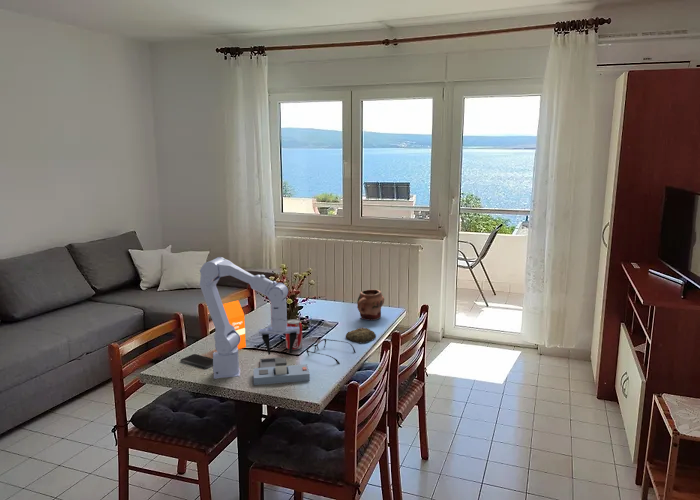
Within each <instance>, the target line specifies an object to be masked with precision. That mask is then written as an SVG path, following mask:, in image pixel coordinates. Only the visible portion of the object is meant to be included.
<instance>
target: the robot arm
mask: <svg viewBox="0 0 700 500" xmlns="http://www.w3.org/2000/svg"><path fill="white" fill-rule="evenodd" d="M199 273H200V279H199V287H200V289H201V292H202V295H203V299H204V301H205V304H206V306H207V309H208V312H209V314H210V318H211V320H212V323H213V326H214V329H215V330H214V331H215V332H214V336H213V339H214V349H215V351H214V352H213V353H212V359H213V367H212V372H213V379H214V380H217V379H222V378H237V377H240V376H241V367H240V361H239V349H238V344H239V343H240V340H241V339H240V335H239V334H238V333H237V332H236V330H235V328H234V326H232V325H230V323H229V320H228V318H227V315H226V312H225V309H224V306H223V304H224V303H223V301H222V299H221V296H220V293H219V289H218V287H217V284H218V283H219V281H220V278H223V277H227V276H229V277H230V276H231V277H233V278H235V279H237V280H240V281H242V282H244V283H246V284H249V286H250V288H251V289H252V290H253V291H256V292H258V293H260V294H261V295H264V296H266V297H267V299H268V300H269V301H270V327H266V328H259V329H258V336H259V337H261V338H262V341H263V343H264V344H265V346H266V349H267V354H268V355H269V356H270V355H271V346H270V335H271V336H272V335H286V334H289V340H290V344H289V349H288V350H289V352H288V353H289V354H292V353H293V350H292V347H293V344H294V342H295V339H296V337H297V334H299V333H300V332H299V327H287V321H288V315H287V314H288V313H287V311H288V309H287V306H288V305H287V296H288V295H289V288H288V287H287V285H286V284H285V283H283V282H277V281H276V280H272V279H269V278H267V277H266V275H264V274H262V273H261V274H256V275H254V274H253V273H250V272H249V271H247V270H245V269H244V268H241V267H240V266H238V265H237V264H235V263H233V262H232V261H231V260H229V259H226V258H224V257H222V256H218V257H216V258H214V259H212V260H209V261H206V262H204V263H203V265H202V266H201V268H200V269H199ZM296 333H297V334H296Z"/></svg>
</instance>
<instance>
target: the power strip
mask: <svg viewBox="0 0 700 500" xmlns="http://www.w3.org/2000/svg"><path fill="white" fill-rule="evenodd" d="M252 371H253V385H254V386H256V385H269V384H270V385H271V384H282V383H293V382H295V383H296V382H308V381H310V379H311V377H310V370H309V366H308V364H306V363H304V364H294V365H287V374H283V375H275V367H264V368H260V367H254V368H253V369H252Z"/></svg>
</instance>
